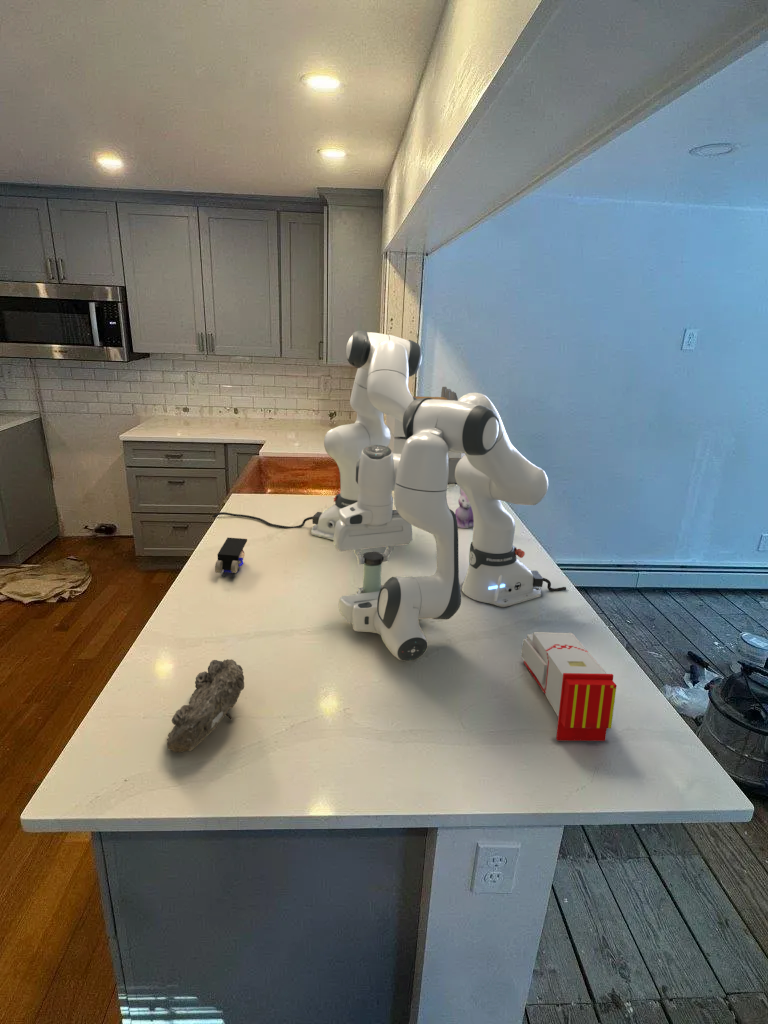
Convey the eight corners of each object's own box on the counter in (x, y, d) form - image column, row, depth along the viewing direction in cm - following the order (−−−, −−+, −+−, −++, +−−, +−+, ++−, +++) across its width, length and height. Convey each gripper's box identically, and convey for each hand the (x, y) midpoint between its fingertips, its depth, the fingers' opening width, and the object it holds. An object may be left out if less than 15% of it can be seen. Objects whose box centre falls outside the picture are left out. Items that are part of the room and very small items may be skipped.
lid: (385, 564, 144) (385, 558, 143) (366, 566, 142) (366, 560, 142) (379, 556, 149) (379, 550, 148) (360, 558, 147) (360, 552, 146)
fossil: (192, 660, 117) (244, 628, 112) (224, 691, 120) (276, 661, 115) (142, 746, 98) (202, 712, 93) (182, 779, 101) (242, 748, 96)
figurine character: (238, 584, 162) (249, 557, 175) (236, 562, 158) (247, 536, 172) (215, 584, 161) (227, 556, 175) (212, 561, 158) (225, 535, 171)
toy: (568, 616, 131) (626, 681, 101) (562, 669, 133) (617, 748, 104) (515, 615, 130) (559, 680, 101) (511, 669, 133) (551, 747, 104)
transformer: (382, 463, 289) (386, 382, 275) (445, 464, 293) (451, 384, 279) (390, 482, 257) (394, 392, 243) (460, 483, 261) (468, 394, 247)
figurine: (462, 530, 205) (466, 491, 200) (446, 521, 213) (450, 483, 208) (483, 527, 209) (487, 488, 204) (467, 518, 218) (471, 480, 213)
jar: (369, 613, 147) (371, 563, 142) (358, 606, 150) (360, 556, 145) (383, 608, 150) (385, 558, 145) (372, 601, 153) (374, 552, 148)
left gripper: (408, 504, 147) (405, 553, 152) (332, 510, 140) (331, 561, 145) (418, 512, 142) (414, 562, 146) (339, 519, 135) (338, 572, 139)
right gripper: (428, 597, 139) (407, 573, 151) (348, 608, 132) (333, 582, 145) (426, 620, 141) (406, 594, 154) (347, 632, 135) (333, 604, 147)
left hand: (372, 562), depth 146 cm, fingers closed on lid, 5 cm apart
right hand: (370, 588), depth 149 cm, fingers closed on jar, 4 cm apart
